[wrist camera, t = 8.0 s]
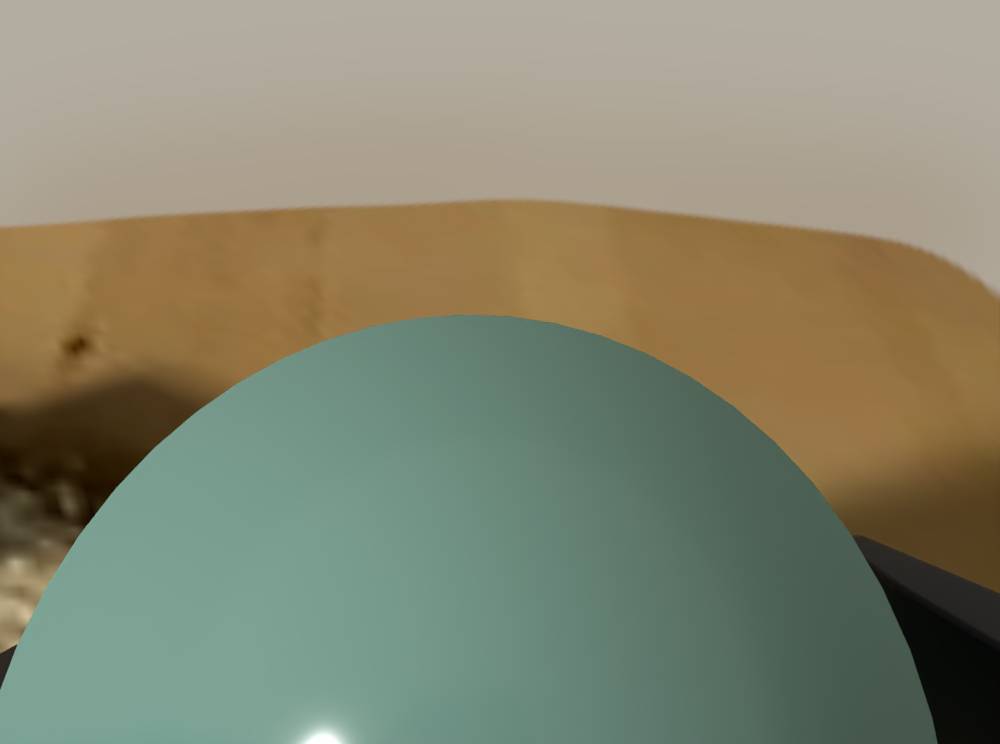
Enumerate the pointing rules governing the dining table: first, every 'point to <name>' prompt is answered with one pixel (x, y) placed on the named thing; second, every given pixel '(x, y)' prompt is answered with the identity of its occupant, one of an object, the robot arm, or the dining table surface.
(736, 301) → the dining table surface
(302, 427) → the teal rounded cylinder
